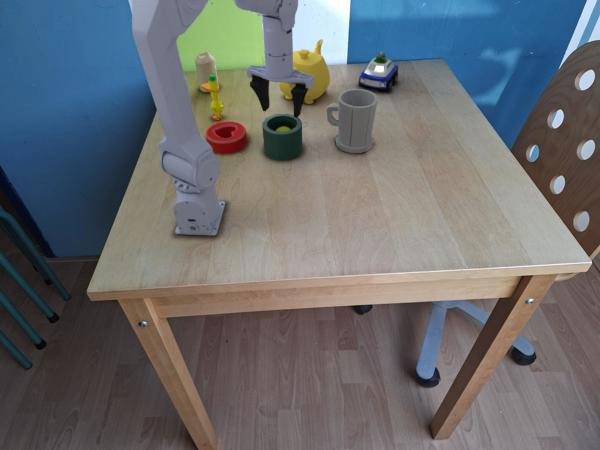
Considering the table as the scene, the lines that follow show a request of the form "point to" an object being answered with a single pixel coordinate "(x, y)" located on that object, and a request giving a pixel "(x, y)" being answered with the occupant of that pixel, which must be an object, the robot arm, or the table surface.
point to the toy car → (379, 73)
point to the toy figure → (214, 96)
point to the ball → (283, 129)
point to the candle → (205, 68)
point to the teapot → (309, 73)
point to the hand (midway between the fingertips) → (281, 112)
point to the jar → (282, 137)
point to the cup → (354, 119)
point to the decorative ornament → (226, 129)
